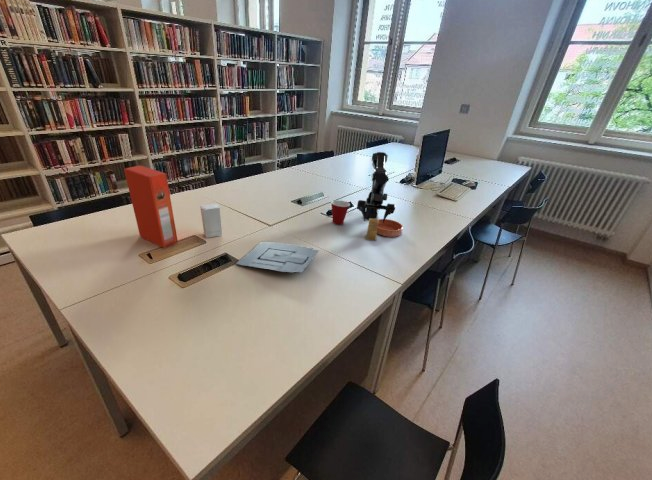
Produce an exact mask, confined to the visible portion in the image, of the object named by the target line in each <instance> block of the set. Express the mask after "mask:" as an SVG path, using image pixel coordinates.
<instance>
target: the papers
mask: <svg viewBox="0 0 652 480" xmlns="http://www.w3.org/2000/svg"><path fill="white" fill-rule="evenodd" d="M319 252H320V249H319V250H318V249H314V248H313V247H307V246H304V245H298V244H293V243H292V244H291V243H283V242H276V241H263V240H261V241H260V242H259V243H258V244H257V245H256V246H254V248H253V249H252V250H251V251H250V252H248V253H247V254H246V255H245V256H243V257H242V258H240V259H239V260H238V261H236V262H235V265H239V266H245V267H253V268H258V269H265V270H271V271H276V272H281V273H286V272H287V273H291V274H292V273H294V272H296V273H303V272H304V271H305V269H306V268H307V267H308V265H309V264H310V263H311V262H312V260H313V259H314V258H315V257H316V255H318V253H319Z"/></svg>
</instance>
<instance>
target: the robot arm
mask: <svg viewBox="0 0 652 480" xmlns="http://www.w3.org/2000/svg"><path fill="white" fill-rule="evenodd" d="M388 157H389V155H388V154H387V153H386V152H384V151H377V152H374V153H372V155H371V162H372V163H371V166H372V167H373V169H374V170H373V172H372V175H371V181H372V183H371V184H372V185H371V190H370V192H369V193H368V196H367V197H366V199H365V200H362V199H359V200H358V201H357V205H356V210H358V211H359V212H361V214H362V218H363V221H364V222H366V220H369V219H370V218H373V219H378V217H379V216H378V215H379V211H380V210H385V211H384V215H383V218H382V219H383V223H384V221H385V219H387V217H388V216H389V215H391V214H394V213H395V211H396V204H394V203H387V204H386V205H383V204H384V201H387V200H388V193H384V192H385V191H384V190H385V188H386V185H387V183H388V182H389V179H390V177H389V176H388V174H387V170H386V169H385V165H386V163H387V162H388ZM383 223H382V224H383Z"/></svg>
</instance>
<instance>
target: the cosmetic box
mask: <svg viewBox="0 0 652 480" xmlns="http://www.w3.org/2000/svg"><path fill="white" fill-rule="evenodd" d="M219 206H220V205H218V203H211V204H203V205H200V206H199V208H200V215H201V223H202V228H203V234H204V236H205V238H206V239H209V238H215V237H221V236H223V227H222V217H221V208H220V207H219Z"/></svg>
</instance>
